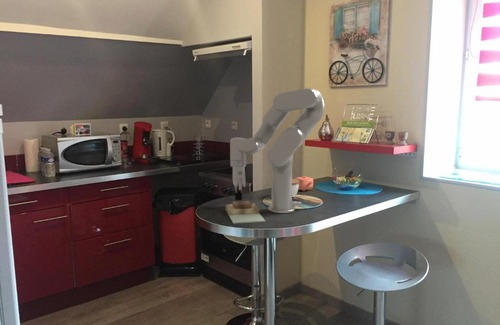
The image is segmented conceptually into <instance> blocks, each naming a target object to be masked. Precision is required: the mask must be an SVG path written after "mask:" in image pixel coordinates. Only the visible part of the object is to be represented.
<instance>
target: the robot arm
mask: <svg viewBox="0 0 500 325" xmlns="http://www.w3.org/2000/svg"><path fill="white" fill-rule="evenodd" d="M323 97H324V96H323V95H322V93H321V92H320V91H318V89H315V88H309V87H308V88H307V87H306V88H302V89H301V88H300V89H296V90H291V91H283V92H279V93H277V94H276V95H275V96H274V97H273V100H272V105H271V107H270V108H269V109H268V110H267V112H266V113H265V114H264V116H263V118H262V123H261V126H260V128H259V129H258V130H257V131H256V133H255V135H254V136H252V137H249V138H245V137H232V138H230V140H229V141H230V142H229V146H230V147H229V150H230V152H229V156H230V157H229V158H230V159H229V160H230V167H232V183H233V185H234V191H235V192H234V200H235V202H237V201H243V187H244V188H245V187H246V171H245V170H246V169H245V167H246V166H247V154H248V155H254V154H257V153H260V152H261V151H262V150H263V149H264V148H266V146H267V144H268V143H269V142H270V141H271V140H272V138H273V137H274V135H275V133H276V132H277V130H278V128H279V127H280V126H281V125H282V123H283V122H284V121H285V119H287V117H288V115H289V114H290V113H291V111H292V112H293V111H299V110H303V112H302V113H301V114H300V115H299V116H298V118H297V119H296V121H295V122H293V124H292V126H289V127H288V128H286V129H284V130H283V132H281V134H280V135H279V136H278V137H277V139H276V140H275V141H274V143H273V144H272V145H271V147H270V148H269V150H268V151H267V155H266V158H267V162H268V163H269V165H270V166H271V167H272V168H271V205H269V206H268V207H267V208H268V211H270V212H271V213H275V214H289V213H293V212H295V211H296V209H295V208H296V207H302V204H303V203H302V201H297V200H296V201H293V198H292V179H293V164H294V153H295V152H296V151H297V149H298V148H299V147H300V146H302V145H303V144H304V143H305V141H306V140H307V138H308V137H309V136H310V135H311V133H312V131H314V128H316V126H317V125H318V124H319V122H320V121H321V119H322V117H323V115H324V112H325V101H324V98H323Z"/></svg>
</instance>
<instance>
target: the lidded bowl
mask: <svg viewBox="0 0 500 325" xmlns="http://www.w3.org/2000/svg"><path fill="white" fill-rule="evenodd" d="M298 188H299V180H296V179H295V178H292V197H295V196H296V195H297V193H298V191H299V190H298Z"/></svg>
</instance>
